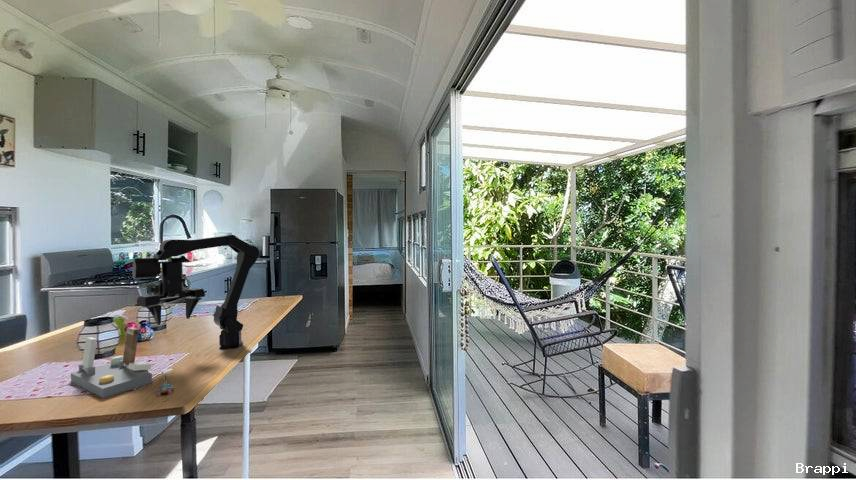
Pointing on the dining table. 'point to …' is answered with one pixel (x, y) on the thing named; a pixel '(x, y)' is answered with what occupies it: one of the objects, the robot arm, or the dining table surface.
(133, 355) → the paddle walnut
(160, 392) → the bomb figurine
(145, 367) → the rocker
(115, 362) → the button
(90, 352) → the lever grey
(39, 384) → the dining table surface
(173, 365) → the dining table surface
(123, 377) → the console
